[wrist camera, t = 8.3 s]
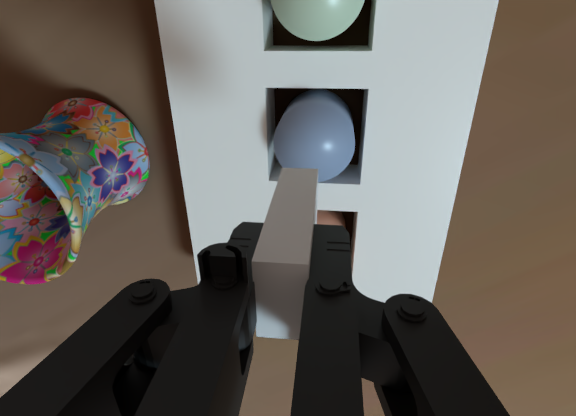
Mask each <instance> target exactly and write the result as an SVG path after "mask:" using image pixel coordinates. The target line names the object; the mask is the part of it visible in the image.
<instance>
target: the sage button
mask: <svg viewBox="0 0 576 416" xmlns="http://www.w3.org/2000/svg"><path fill="white" fill-rule="evenodd" d="M364 1H365V0H271V4H272V7H273V10H274V12H275V15H276V16H277V18H278V20H279V21H280V23H281V24H282V25H283V26H284V27H285V28H286V29H287V30H288V31H289V32H291V33H292V34H293V35H295V36H297V37H299V38H302V39H305V40H309V41H323V40H327V39H331V38H333V37H335V36H337V35H339V34H341V33H342V32H344V31H345V30H346V29H347V28H348V27H349V26H350V25H351V24H352V23H353V22H354V21H355V19H356V18H357V16H358V15H359V13H360V11H361V9H362V6H363V4H364Z"/></svg>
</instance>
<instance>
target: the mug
mask: <svg viewBox="0 0 576 416" xmlns="http://www.w3.org/2000/svg"><path fill="white" fill-rule="evenodd" d="M149 170H150V161H149V155H148V151H147V147H146V145H145V142H144V140H143V138H142V136H141V135H140V133H139V132H138V130H137V129H136V127H135V126H134V125H133V124H132V123H131V122H130V121H129V119H128V118H127V117H125V116H124V115H123V114H122V113H121V112H119V111H118V110H116V109H115V108H113V107H112V106H110V105H108V104H106V103H103V102H101V101H98V100H94V99H90V98H70V99H66V100H63V101H61V102H59V103H57V104H56V105H54V106H53V107H52V108H51V109H50V110H49V111H48V112H47V113H46V115H45V116H44V118H43V120H42V122H41V123H39V124H38V125H36V126H34V127H32V128H30V129H27V130H23V131H19V132H12V133H0V280H3V281H7V282H11V283H17V284H40V283H45V282H48V281H51V280H54V279H56V278H58V277H60V276H61V275H63V274H64V273H65V272H66V271H67V270H68V269H69V268H70V267H71V266H72V265H73V263H74V262H75V260H76V258H77V255H78V253H79V249H80V245H81V241H82V238H83V235H84V233H85V231H86V229H87V227H88V225H89V224H90V222H91V221H92V219H93V218H94V217H95V216H96V215H97V214H98V213H99V212H100V211H101V210H102V209H104V208H105V207H107V206H109V205H116V204H121V203H124V202H127V201H129V200H131V199H133V198H134V197H136V196H137V195H138V194H139V193H140V192H141V191H142V189H143V188H144V186H145V184H146V182H147V179H148V176H149Z"/></svg>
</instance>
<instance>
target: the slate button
mask: <svg viewBox="0 0 576 416" xmlns="http://www.w3.org/2000/svg"><path fill="white" fill-rule="evenodd" d="M273 144H274V151H275V155H276V157H277V159H278V161H279V163H280V165H281V166H282V167H283V168H309V169H318V182H322V181H326V180H329V179H332V178H334V177H335V176H337V175H339V174H340V173H341V172H342V171H343V170H344V169H345V168H346V167H347V166H348V164H349V163H350V161H351V159H352V157H353V154H354V150H355V136H354V128H353V120H352V115H351V112H350V109H349V107H348V106H347V104H346V103H345V101H344V100H343V99H342V98H341V97H339V96H338V95H337V94H335V93H333V92H330V91H327V90H322V89H313V90H308V91H305V92H303V93H301V94H299V95H298V96H296V97H295V98H294V99H293V100H292V101H291V102H290V103H289V105H288V106H287V108H286V110H285V112H284V114H283V116H282V118H281V120H280V122H279V124H278V126H277V128H276V131H275V134H274V143H273Z"/></svg>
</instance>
